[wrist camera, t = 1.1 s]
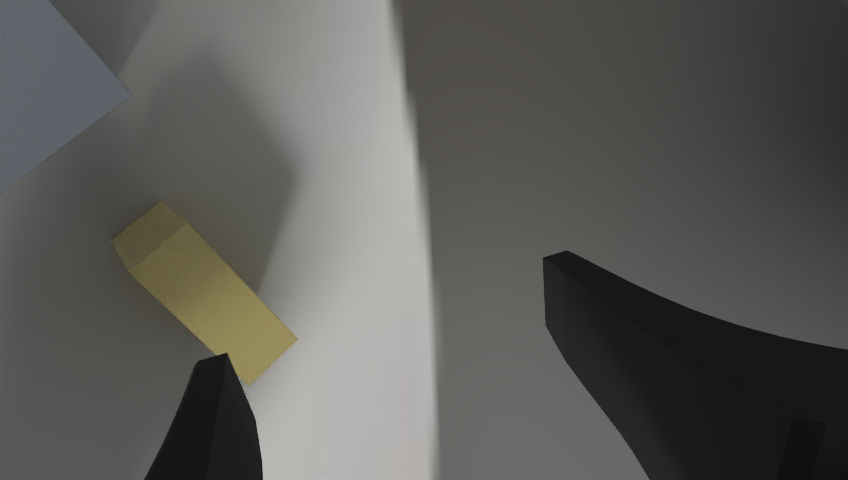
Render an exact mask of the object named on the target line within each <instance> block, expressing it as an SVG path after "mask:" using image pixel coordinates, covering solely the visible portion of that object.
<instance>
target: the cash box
mask: <svg viewBox="0 0 848 480" xmlns="http://www.w3.org/2000/svg"><path fill="white" fill-rule="evenodd" d="M131 95H132V94H131V93H130V91H129V90H128V89H127V88H126V87H125V86H124V85H123V84H122V82H121V81H120V80H119V79H118V78H117V77H116V76H115V75H114V73H113V72H112V71H111V70H110V69H109V68H108V67H107V65H106V64H105V63H104V62H103V61H102V60H101V59H100V58H99V56H98V55H97V54H96V53H95V52H94V51H93V50H92V48H91V47H90V46H89V45H88V44H87V43H86V42H85V41H84V39H83V38H82V37H81V36H80V35H79V34H78V33H77V32H76V30H75V29H74V28H73V27H72V26H71V25H70V24H69V22H68V21H67V20H66V19H65V18H64V17H63V16H62V15H61V13H60V12H59V11H58V10H57V9H56V8H55V7H54V5H53V4H52V3H51V2H50V1H49V0H0V193H1V192H3V191H4V190H5V189H7V188H8V187H9V186H11V185H12V184H13V183H15V182H16V181H17V180H19V179H20V178H21V177H23V176H24V175H26V174H27V173H28V172H30V171H31V170H32V169H34V168H35V167H36V166H38V165H39V164H40V163H42V162H43V161H44V160H46V159H47V158H48V157H50V156H51V155H52V154H54V153H55V152H56V151H58V150H59V149H60V148H62V147H63V146H64V145H66V144H67V143H68V142H70V141H71V140H72V139H74V138H75V137H76V136H78V135H79V134H80V133H82V132H83V131H84V130H86V129H87V128H88V127H90V126H91V125H92V124H94V123H95V122H96V121H98V120H99V119H100V118H102V117H103V116H104V115H106V114H107V113H108V112H110V111H111V110H112V109H114V108H115V107H116V106H118V105H119V104H121V103H122V102H123V101H125V100H126V99H127V98H129V97H130V96H131Z"/></svg>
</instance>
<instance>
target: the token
mask: <svg viewBox="0 0 848 480" xmlns="http://www.w3.org/2000/svg"><path fill="white" fill-rule="evenodd" d="M111 242H112V244H113V245H114V247H115V249H116V251H117V253H118V254H119V256H120V258H121V260H122V262H123V263H124V265H125V267H126V269H127V271H128V273H130V274H131V275H132V276H133V277H134V278H135V279H136V280H137V281H138V282H139V283H140V284H141V285H142V286H143V287H144V288H145V289H147V290H148V291H149V292H150V293H151V294H152V295H153V296H154V297H155V298H156V299H157V300H158V301H159V302H160V303H161V304H162V305H163V306H165V307H166V308H167V309H168V310H169V311H170V312H171V313H172V314H173V315H174V316H175V317H176V318H177V319H178V320H179V321H180V322H181V323H183V324H184V325H185V326H186V327H187V328H188V329H189V330H190V331H191V332H192V333H193V334H194V335H195V336H196V337H197V338H198V339H200V340H201V341H202V342H203V343H204V344H205V345H206V346H207V347H208V348H209V349H210V350H211V351H212V352H213V353H214V354H215V355H216V356H217V355H220V354H224V353H228V356H229V358H230V360H231V363H232V365H233V367H234V370H235V372H236V374H237V375H238V376H239V377H240V378H241V379H242V380H243V381H244V382H245V383H246V384H247V385H248V386H250V385H251V384H252V383H253V382H254V381H255V380H256V379H257V378H258V377H259V376H260V375H261V374H262V373H263V372H264V371H265V370H266V369H267V368H268V367H269V366H270V365H272V364H273V363H274V362H275V361H276V360H277V359H278V358H279V357H280V356H281V355H282V354H283V353H284V352H285V351H286V350H287V349H288V348H289V347H290V346H291V345H292V344H293V343H294V342H295V341H296V340H297V338H296V337H295V336H294V335H293V333H292V332H291V331H290V330H289V329H288V328H287V327H286V326H285V325H284V324H283V323H282V322H281V321H280V320H279V319H278V318H277V316H276V315H275V314H274V313H273V312H272V311H271V310H270V309H269V308H268V307H267V306H266V305H265V304H264V303H263V302H262V301H261V300H260V298H259V297H258V296H257V295H256V294H255V293H254V292H253V291H252V290H251V289H250V288H249V287H248V286H247V285H246V284H245V283H244V281H243V280H242V279H241V278H240V277H239V276H238V275H237V274H236V273H235V272H234V271H233V270H232V269H231V268H230V267H229V266H228V265H227V263H226V262H225V261H224V260H223V259H222V258H221V257H220V256H219V255H218V254H217V253H216V252H215V251H214V250H213V249H212V248H211V247H210V245H209V244H208V243H207V242H206V241H205V240H204V239H203V238H202V237H201V236H200V235H199V234H198V233H197V232H196V231H195V230H194V228H193V227H192V226H191V225H190V224H189V223H188V222H187V221H185V220H184V219H183V218H182V217H180V216H179V215H178V214H177V213H175V212H174V211H173V210H172V209H170V208H169V207H168V206H167V205H165V204H164V203H163V202H162V201H159V202H158V203H157V204H155V205H154V206H153V207H152V208H151V209H149V210H148V211H147V212H146V213H144V214H143V215H142V216H141V217H139V218H138V219H137V220H136V221H135V222H133V223H132V224H131V225H130V226H128V227H127V228H126V229H125V230H124V231H122V232H121V233H120V234H119V235H117V236H116V237H115V238H114V239H113V240H111Z"/></svg>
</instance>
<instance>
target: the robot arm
mask: <svg viewBox="0 0 848 480" xmlns="http://www.w3.org/2000/svg"><path fill="white" fill-rule="evenodd" d="M543 274H544V298H545V320H546V327H547V329H548V331H549V332H550V334H551V336H552V338H553V340H554V342H555V343H556V345H557V347H558V349H559V350H560V352H561V354H562V356H563V357H564V359H565V361H566V362H567V364H568V365H569V366H570V368H571V369H572V370H573V372H574V373H575V374H576V376H577V377H578V378H579V380H580V381H581V382H582V384H583V385H584V386H585V388H586V389H587V390H588V391H589V393H590V394H591V396H592V397H593V398H594V399H595V401H596V402H597V404H598V405H599V406H600V407H601V409H602V410H603V411H604V413H605V414H606V415H607V416H608V418H609V419H610V421H611V422H612V423H613V425H614V426H615V427H616V428H617V430H618V431H619V432H620V433H621V435H622V437H623V438H624V439H625V441H626V442H627V444H628V445H629V447H630V448H631V450H632V451H633V453H634V454H635V456H636V458H637V459H638V461H639V462H640V464H641V466H642V468H643V469H644V471H645V472H646V474H647V476H648V478H649V479H650V480H848V350H846V349H840V348H834V347H829V346H823V345H818V344H813V343H808V342H803V341H798V340H794V339H789V338H785V337H780V336H777V335H773V334H769V333H765V332H761V331H758V330H754V329H750V328H747V327H743V326H740V325H736V324H733V323H730V322H727V321H724V320H721V319H718V318H715V317H712V316H709V315H706V314H703V313H701V312H698V311H695V310H693V309H690V308H687V307H685V306H683V305H680V304H678V303H675V302H673V301H671V300H668V299H666V298H663V297H661V296H659V295H657V294H654V293H652V292H650V291H648V290H646V289H644V288H641V287H639V286H637V285H635V284H633V283H631V282H629V281H627V280H625V279H623V278H621V277H619V276H617V275H615V274H613V273H611V272H609V271H607V270H605V269H603V268H601V267H599V266H597V265H595V264H593V263H591V262H590V261H588V260H586V259H584V258H582V257H580V256H578V255H576V254H574V253H571V252H569V251H563V252H560V253H557V254H554V255H550V256H547V257H544V258H543ZM144 480H263V472H262V458H261V452H260V445H259V439H258V433H257V427H256V421H255V417H254V415H253V412H252V410H251V408H250V405H249V403H248V400H247V398H246V396H245V393H244V391H243V389H242V386H241V384H240V382H239V379H238V377H237V375H236V372H235V370H234V367H233V365H232V363H231V360H230V358H229V356H228V353H224V354H220V355H217V356H214V357H210V358H207V359H204V360H200V361H198V362H197V363H196V365H195V367H194V369H193V372H192V374H191V377H190V380H189V383H188V385H187V388H186V390H185V393H184V395H183V398H182V400H181V403H180V405H179V408H178V410H177V413H176V415H175V417H174V419H173V422H172V424H171V426H170V428H169V430H168V433H167V435H166V437H165V439H164V442H163V444H162V446H161V448H160V450H159V452H158V454H157V456H156V458H155V460H154V462H153V464H152V465H151V467H150V469H149V471H148V473H147V475H146V477H145V479H144Z"/></svg>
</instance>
